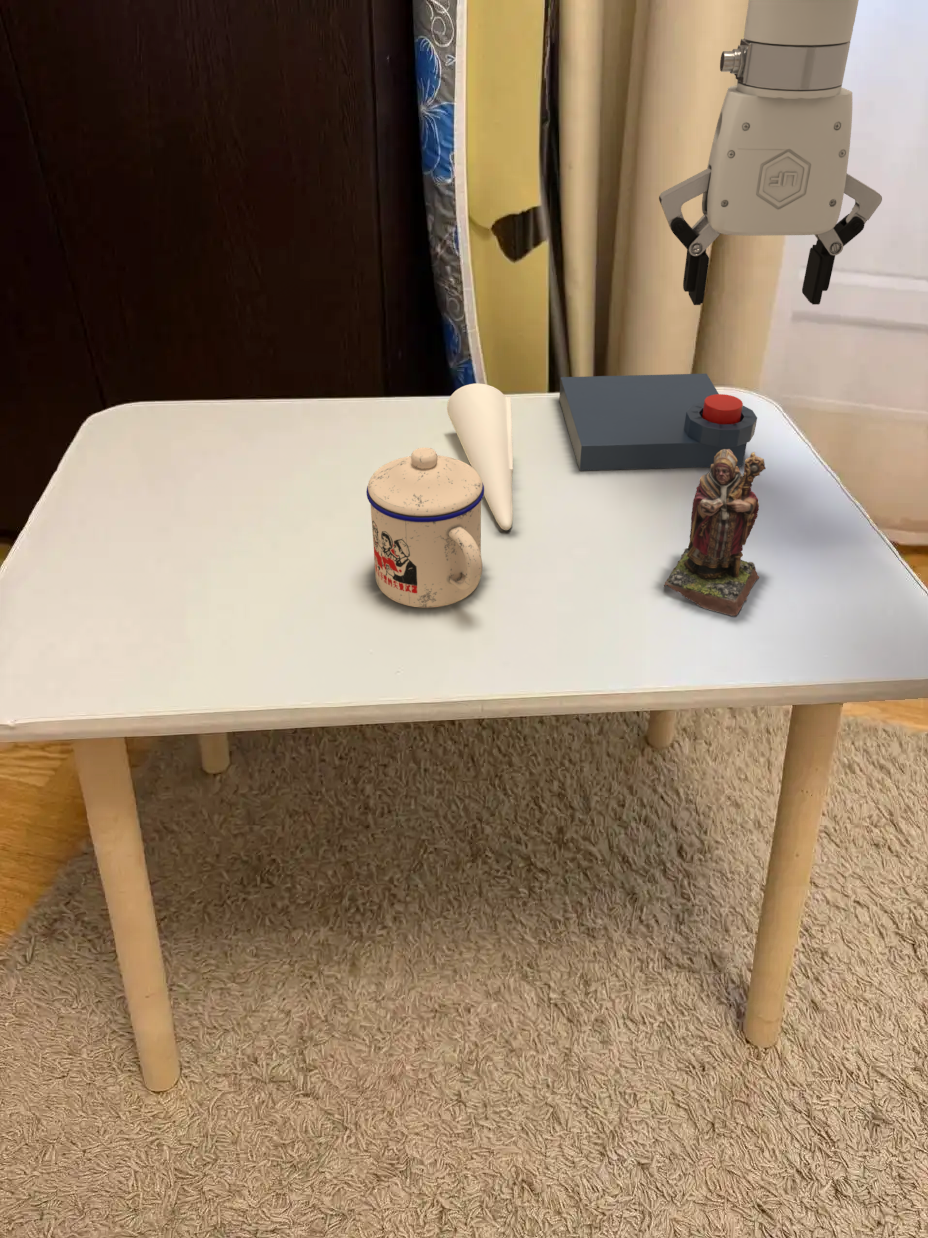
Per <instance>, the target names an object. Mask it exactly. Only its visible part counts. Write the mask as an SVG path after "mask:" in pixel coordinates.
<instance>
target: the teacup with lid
mask: <svg viewBox="0 0 928 1238" xmlns="http://www.w3.org/2000/svg"><path fill="white" fill-rule="evenodd" d="M366 498H367V501H368V502H369V504H370V516H371V530H372V531H371V532H372V543H373V544H372V545H373V557H374V559H373V560H374V571H375V572H374V573H375V581H376V584H377V586H378V588H379V590H380V591H381V592H382V594H384V595H385V596H386V597H387V598H389V599H390V600H392V601H394V602H396V603H398V604H401V605H404V606H408V607H413V608H423V609H424V608H425V609H426V608H429V609H430V608H431V609H432V608H441V607H446V606H448V605H449V606H450V605H452V604H456V603H457V602H460V601H462V600H463V599H465V598H467V597H468V596H469V595H471V594H472V593H473V592H474V591H475V590H476V589H477V587H478V586H479V583H480V580H481V577H482V573H483V559H482V500H483V498H484V485H483V482H482V480H481V477H480V476H479V474H478V473H477V472H476V470H475V469H473V468H472V466H471V464H468V463H466V462H464V461H462V460H459V459H457V458H454V457H451V456H445V455H438V453H437V451H435V449H433V448H430V447H418V448H416V449H414V450H413V451H412V453H411V455H409V456H404V457H400V458H396V459H394V460H391V461H389V462H386V463H385V464H383V465H382V466H380V467H378V469H377V470H375V472H374V473H373V474H372V475H371V477H370V478H369V480H368V484H367V486H366Z"/></svg>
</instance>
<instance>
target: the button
mask: <svg viewBox="0 0 928 1238" xmlns="http://www.w3.org/2000/svg"><path fill="white" fill-rule="evenodd" d="M743 406H744V403H743V401H742V399H740V398H739V397H737V396H734V395H731V394H725V393H724V394H723V393H719V394H716V395H711V396H708V397H707V398H706V399H705V401H704V407H703V414H702V418H703V419H705V420H707V421H709V422H712V423H717V424H735V423H738V422H740V418H741V412H742V407H743Z"/></svg>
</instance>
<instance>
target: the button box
mask: <svg viewBox="0 0 928 1238" xmlns="http://www.w3.org/2000/svg"><path fill="white" fill-rule="evenodd" d="M559 381H560V382H559V397H558V399H559V401H558V402H559V404H560V407H561V411H562V415H563V417H564V422H565V424H566V428H567V432H568V435H569V439H570V442H571V445H572V449H573V452H574V455H575V459H576V463H577V466H578V469H579V471H580V472H581V471H583V472H584V471H614V470H615V471H616V470H617V471H618V470H649V469H652V470H653V469H655V470H656V469H685V468H686V469H688V468H710V466H711V464H714V456H716V454H717V453H718V452H719V451H720V450H723V449H726V450H728V449H730V450H731V451H732V452H733V454H734V455H735V457H736V458H737V465H736V466H738V467H744V462H745V455H746V449H747V444H748V443H750V442H751V440H752V439H753V437H754V436H755V433H756V427H757V422H758V417H757V415H756V413H755V412H754V410H753V409H751V408H749V407H747V406H745V405H743V407H742V412H741V418H740V422H738V423H735V424H717V423H712V422H709V421H707V420H705V419H703V418H702V414H703V407H704V401H705V399H706V398H707V397H708V396H711V395H716V394H720V393H719V391H718V390H717V388H716V386H715V384H714V383H713V381H712V379H711V378H710V377H709V374H708V373H674V374H671V373H670V374H636V375H635V374H634V375H597V376H596V375H594V376H593V375H592V376H591V375H590V376H589V375H588V376H560V379H559Z"/></svg>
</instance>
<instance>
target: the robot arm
mask: <svg viewBox="0 0 928 1238" xmlns="http://www.w3.org/2000/svg"><path fill="white" fill-rule="evenodd" d="M858 6H859V0H748V3H747V8H746V17H745V25H744V30H743V31H744V32H743V38H741V39H740V42H739V44H738V45H737V48H733V49H732V50H723V51H722V52H721V55H720V61H719V70H720V72H721V73H729V74H731V75H734V77H735V79H736V85H731V86H729V87H728V88H727V91H726V93H725V96H724V99H723V103H722V106H721V108H720V112H719V116H718V119H717V122H716V123H717V124H716V127H715V131H714V135H713V139H712V142H711V143H712V144H711V148H710V152H709V157H708V162H707V168H706V169H704V170H702V171H700V172H697V174H694V175H692V176H690V177H689V178H687V179H684V180H683V181H681V182H679V183H677V184H675V185H673V186H671V187H669V188H667V189H666V190H663V191H662V192H661V193H660V194H659V196H658V201H659V203H660V206H661V209H662V211H663V213H664V216H665V220H666V222H667V224H668V227H669V229H670V231H671V232H672V234H673V235H674V236H675V237H676V238H677V239H678V240H679V242H680V243H681V244H682V246H684V247H685V249H686V257H685V265H684V271H683V272H684V273H683V282H682V289H683V291H684V292H688V297H689V298H690V300H691V302H692V304H693V306H701V305H702V304H704V301H705V293H706V288H707V287H706V286H707V278H708V271H709V266H710V265H709V264H710V256H709V255H708V254H707V249H708V248H709V247H710V246H711V245H712V244H713V242H715V240H716V239H717V238H719V236H720V235H725V236H726V235H727V236H744V237H745V236H746V237H747V236H814V237H815V238H816V242H815V243H816V244H812V247H810V248H809V252H808V257H807V263H806V268H805V273H804V276H803V277H804V278H803V282H802V288H801V293H802V294H803V295H804V297H805V298H806V300H807V301H808V302H809V303H810V304H811V305H814V306H815V305H820V304H821V301H822V295H823V292H827V291H828V290H829V287H830V283H831V278H832V273H833V268H834V264H835V259H836V256H838V255H839V254H841V253H842V251H843V250H844V247H845V246H846V245H847V244H848V243H850V242H851V241H852V240H853V239H854V238H856V237H857V236H858V235H859V234H860V233H861V232H862V231H863V230H864V228H865V225H866V223H867V222H868V221H869V220H870V219H871V217H872V216H873V215H874V213H875V212H876V210H877V209H878V208H879V206H880V205H881V203H882V202H883V197H882V195H881V194H880V193H879V192H878V191H876V190H875V189H874V188H872V187H870V186H869V185H867V184H865V183H863V182H862V181H861V180H859V179H857V178H856V177H854V176H852V175H851V174H849V173H848V164H849V156H850V149H851V147H850V146H851V137H852V136H851V135H852V127H853V126H852V125H853V124H852V123H853V92H852V91H851V90H849V89H848V88H845V87H843V82H844V76H845V72H846V67H847V63H848V62H847V61H848V58H849V57H848V56H849V51H850V47H851V41H852V35H853V31H854V26H855V21H856V17H857V11H858ZM844 194H845V195H847V196H848V197H850V198H851V199H852V200H854V205H853V207H852V208H851V210H850V212H849V213H848V214H846V215H844V217H843V218H842V219H840V220H839V218H840V215H841V210H842V205H843V201H844V196H845V195H844ZM701 195H702V197H701V198H702V199H701V212H702V216H701V217H700V218H699V219H698V220H697V222H695V224H693V225H692V226H690V224H689V223H688V222H687V221H686V219H685V218H684V215H683V212H682V206H683V205H684V204H685V203H687V202H689V201H691V200H692V199H694V198H697V197H698V196H701Z"/></svg>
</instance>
